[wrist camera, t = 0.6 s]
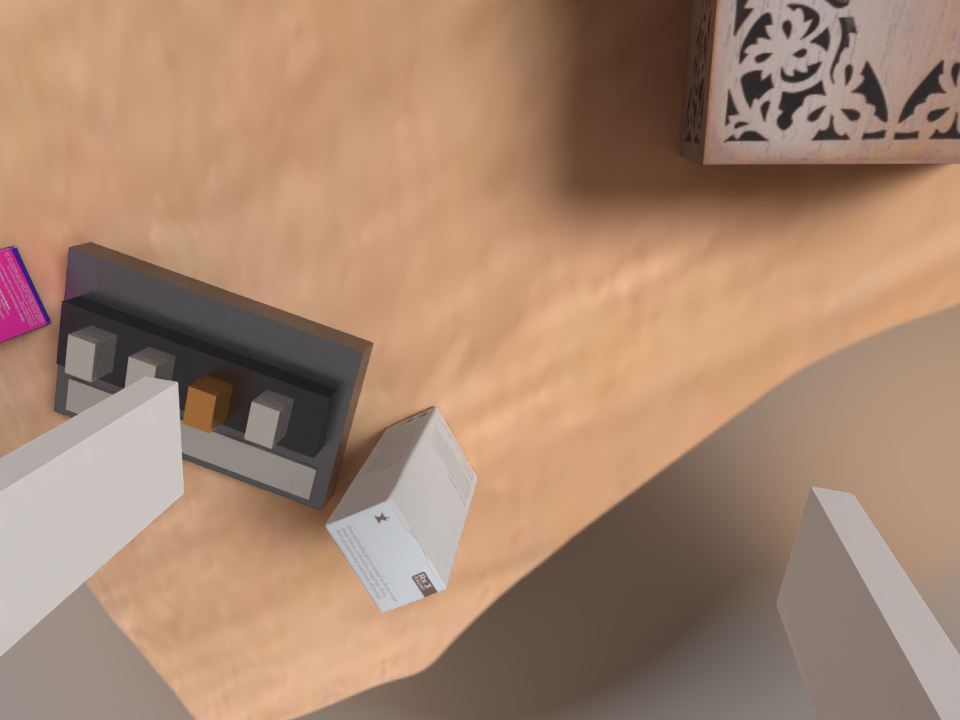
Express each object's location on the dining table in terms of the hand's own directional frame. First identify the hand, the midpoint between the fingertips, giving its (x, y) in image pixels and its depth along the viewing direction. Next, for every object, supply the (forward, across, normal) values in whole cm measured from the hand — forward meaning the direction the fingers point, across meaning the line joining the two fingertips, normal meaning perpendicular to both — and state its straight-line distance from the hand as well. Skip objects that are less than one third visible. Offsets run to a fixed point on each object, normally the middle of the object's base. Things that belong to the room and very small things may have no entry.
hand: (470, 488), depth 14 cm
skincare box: (+29, -6, -15) cm, 33 cm away
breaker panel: (+28, -22, -11) cm, 38 cm away
